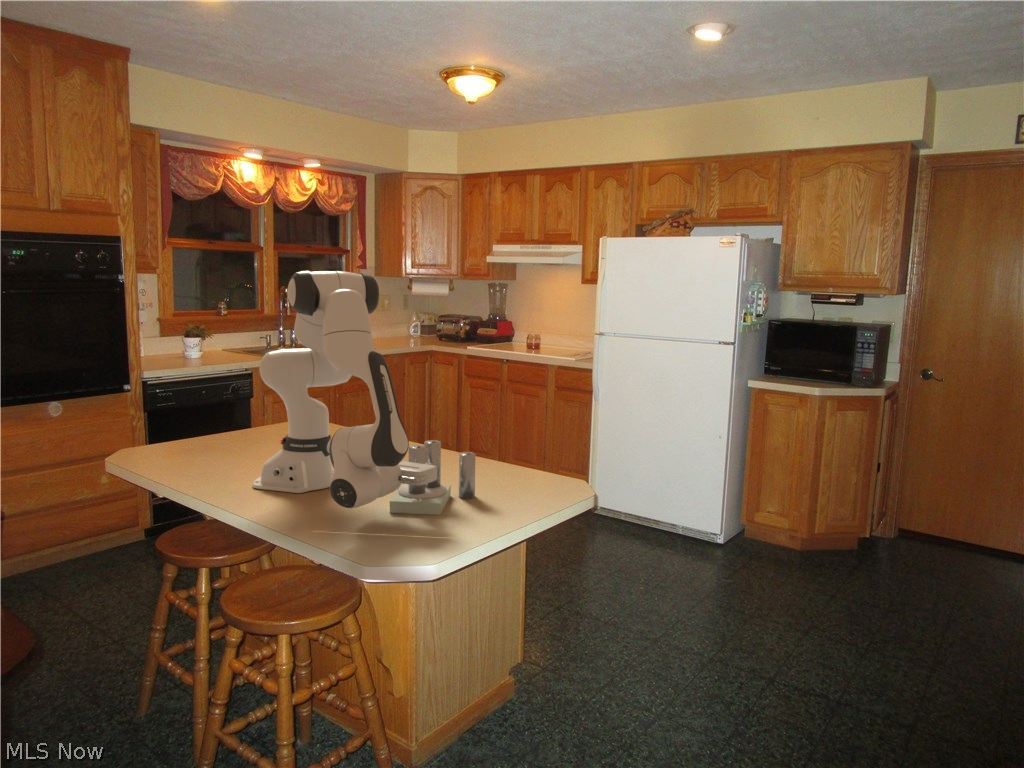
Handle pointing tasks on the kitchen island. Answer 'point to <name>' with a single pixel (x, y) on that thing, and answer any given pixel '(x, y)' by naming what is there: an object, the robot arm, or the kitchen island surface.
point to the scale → (420, 500)
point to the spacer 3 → (467, 475)
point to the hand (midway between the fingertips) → (413, 463)
